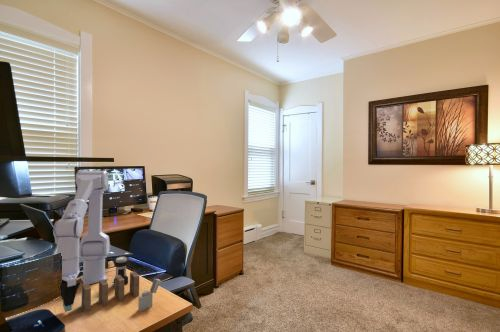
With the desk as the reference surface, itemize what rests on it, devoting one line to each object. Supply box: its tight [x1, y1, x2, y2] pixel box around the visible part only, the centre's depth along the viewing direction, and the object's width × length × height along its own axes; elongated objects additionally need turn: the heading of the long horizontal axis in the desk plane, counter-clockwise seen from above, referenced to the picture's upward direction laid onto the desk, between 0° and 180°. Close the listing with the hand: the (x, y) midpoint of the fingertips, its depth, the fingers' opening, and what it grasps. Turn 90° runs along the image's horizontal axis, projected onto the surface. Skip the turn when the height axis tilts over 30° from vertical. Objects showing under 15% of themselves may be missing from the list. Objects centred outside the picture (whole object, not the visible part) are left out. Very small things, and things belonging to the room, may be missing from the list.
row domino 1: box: [81, 283, 92, 313], centre depth 85 cm, size 5×2×7 cm, turn 42°
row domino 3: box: [114, 275, 125, 302], centre depth 92 cm, size 5×2×7 cm, turn 42°
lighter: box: [137, 278, 161, 312], centre depth 87 cm, size 7×2×8 cm, turn 146°
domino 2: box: [129, 271, 140, 298], centre depth 95 cm, size 5×2×7 cm, turn 42°
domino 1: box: [62, 301, 73, 313], centre depth 82 cm, size 5×2×7 cm, turn 42°
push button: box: [108, 256, 130, 287], centre depth 102 cm, size 7×5×10 cm
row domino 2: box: [98, 279, 109, 307], centre depth 89 cm, size 5×2×7 cm, turn 42°
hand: (67, 301), depth 82 cm, fingers closed on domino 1, 5 cm apart
